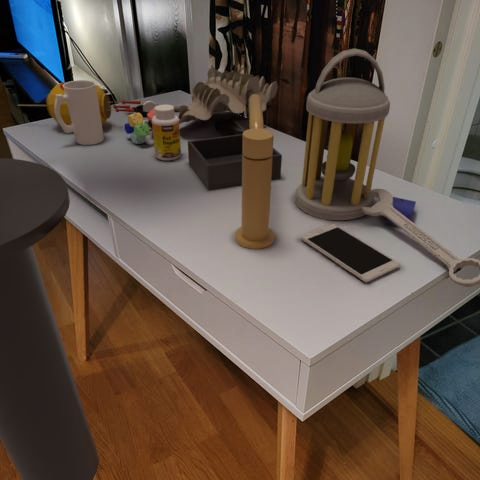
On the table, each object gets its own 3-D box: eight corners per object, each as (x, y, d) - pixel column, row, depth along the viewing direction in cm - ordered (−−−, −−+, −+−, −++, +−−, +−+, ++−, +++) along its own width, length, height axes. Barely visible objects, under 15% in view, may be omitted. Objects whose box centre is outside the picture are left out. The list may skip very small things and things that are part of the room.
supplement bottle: (163, 163, 102) (158, 113, 95) (151, 155, 106) (145, 105, 99) (186, 157, 105) (182, 108, 98) (173, 149, 108) (169, 101, 101)
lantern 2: (148, 117, 121) (32, 115, 123) (142, 76, 114) (18, 75, 116) (139, 136, 114) (16, 134, 116) (132, 94, 107) (1, 92, 109)
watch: (134, 100, 122) (134, 111, 125) (137, 113, 120) (137, 125, 123) (164, 99, 124) (163, 110, 127) (168, 113, 122) (167, 124, 125)
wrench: (353, 205, 85) (353, 197, 83) (378, 188, 85) (378, 180, 84) (465, 297, 71) (466, 290, 69) (494, 276, 71) (496, 268, 69)
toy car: (230, 124, 120) (230, 108, 118) (260, 138, 113) (261, 122, 110) (211, 129, 117) (210, 112, 115) (241, 144, 110) (241, 127, 108)
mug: (96, 132, 115) (86, 78, 108) (110, 141, 112) (101, 85, 104) (56, 142, 110) (42, 86, 103) (69, 151, 107) (56, 93, 99)
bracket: (408, 227, 82) (412, 214, 81) (380, 221, 83) (384, 208, 82) (414, 205, 89) (418, 192, 87) (388, 200, 90) (392, 187, 89)
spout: (272, 171, 70) (274, 139, 67) (242, 171, 70) (242, 139, 67) (266, 116, 88) (267, 89, 85) (242, 115, 88) (242, 88, 85)
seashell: (238, 102, 134) (248, 44, 123) (283, 134, 126) (299, 74, 115) (151, 120, 118) (155, 54, 107) (197, 156, 110) (206, 90, 100)
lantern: (300, 220, 84) (316, 61, 68) (290, 184, 95) (302, 39, 78) (381, 219, 84) (416, 61, 68) (362, 183, 95) (389, 39, 79)
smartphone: (333, 222, 82) (401, 264, 73) (332, 226, 83) (400, 267, 73) (299, 235, 79) (366, 280, 70) (298, 239, 79) (366, 284, 70)
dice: (125, 137, 113) (121, 108, 109) (135, 135, 114) (131, 106, 110) (141, 148, 108) (137, 118, 104) (151, 145, 109) (148, 116, 105)
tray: (208, 190, 93) (207, 166, 90) (188, 163, 102) (187, 141, 99) (280, 178, 97) (282, 155, 94) (255, 154, 107) (256, 132, 103)
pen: (186, 111, 128) (186, 107, 127) (123, 113, 125) (122, 109, 124) (186, 109, 129) (186, 104, 128) (122, 110, 126) (122, 106, 125)
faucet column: (243, 252, 77) (245, 166, 67) (229, 232, 81) (229, 150, 72) (280, 244, 78) (286, 160, 69) (264, 225, 83) (268, 144, 74)
